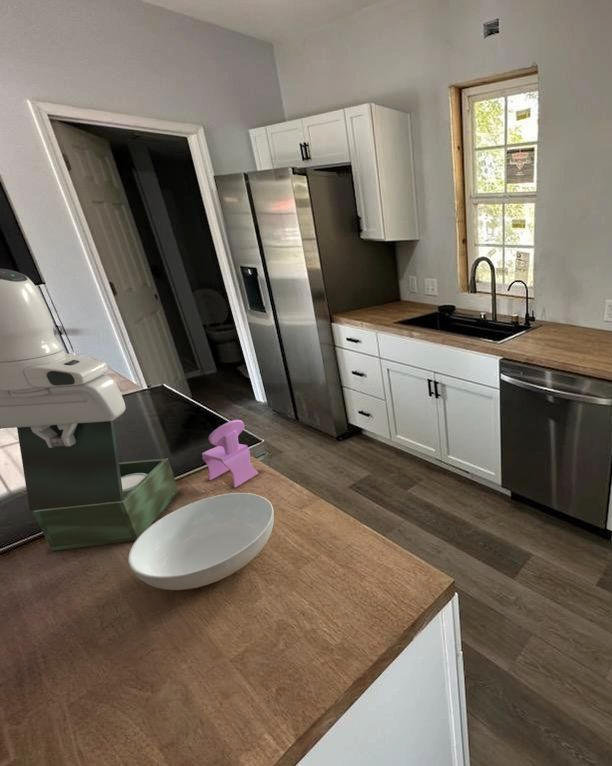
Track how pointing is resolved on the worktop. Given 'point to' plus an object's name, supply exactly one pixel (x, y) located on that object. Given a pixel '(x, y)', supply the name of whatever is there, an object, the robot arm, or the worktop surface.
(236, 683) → the worktop surface
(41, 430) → the robot arm
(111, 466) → the green box lid
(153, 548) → the serving bowl
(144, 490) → the box
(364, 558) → the worktop surface
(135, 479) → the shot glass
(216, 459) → the toy chair
